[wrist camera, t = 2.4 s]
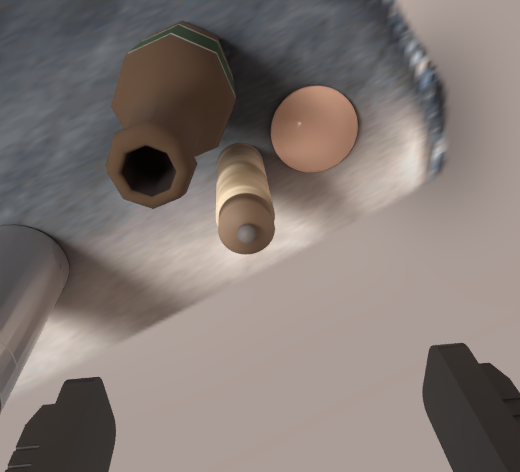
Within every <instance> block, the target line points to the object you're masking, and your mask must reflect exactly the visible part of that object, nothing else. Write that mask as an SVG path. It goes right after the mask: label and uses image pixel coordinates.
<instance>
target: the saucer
mask: <svg viewBox="0 0 520 472" xmlns="http://www.w3.org/2000/svg"><path fill="white" fill-rule="evenodd" d="M357 130H358V122H357V116H356V113H355V110H354V108H353V106H352V105H351V103H350V102H349V101H348V99H347V98H346V97H345V96H344V95H342V94H341V93H340V92H338V91H337V90H335V89H333V88H330V87H327V86H321V85H312V86H306V87H303V88H300V89H298V90H296V91H294V92H292V93H291V94H289V95H288V96H287V97H286V98H285V99H284V100H283V101H282V102H281V103H280V105H279V106H278V108H277V109H276V111H275V113H274V115H273V119H272V122H271V140H272V144H273V146H274V149H275V151H276V153H277V155H278V156H279V157H280V159H281V160H282V161H283V162H284V163H285V164H287V165H288V166H290V167H291V168H293V169H296V170H298V171H302V172H320V171H324V170H327V169H329V168H331V167H333V166H335V165H337V164H338V163H339V162H341V161H342V160H343V159H344V158H345V157H346V156H347V155H348V153H349V152H350V150H351V149H352V147H353V145H354V142H355V140H356V136H357Z"/></svg>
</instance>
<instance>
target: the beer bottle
mask: <svg viewBox="0 0 520 472" xmlns="http://www.w3.org/2000/svg"><path fill="white" fill-rule="evenodd" d="M235 100H236V96H235V88H234V80H233V73H232V71H231V68H230V66H229V64H228V61H227V59H226V56H225V54H224V51H223V49H222V47H221V44H220V42H219V39H218V37H217V36H216V35H214V34H211V33H209V32H207V31H205V30H202V29H200V28H198V27H196V26H193V25H191V24H189V23H187V22H184V21H181V22H179V23H177V24H175V25H172V26H170V27H168V28H166V29H164V30H162V31H159V32H157V33H155V34H153V35H151V36H149V37H147V38H145V39H144V40H143V41H142V42H141V43H139V44H138V45H137V46H136V47H135V48H133V49H132V50H131V51H130V52H129V53H127V55H126V56H125V58H124V60H123V64H122V67H121V71H120V75H119V78H118V82H117V86H116V89H115V93H114V97H113V101H112V104H111V107H112V109H113V111H114V113H115V114H116V116H117V118H118V120H119V121H120V123H121V125H122V127H123V128H124V129H123V130H121V131H119V132H116V133H114V137H113V140H112V144H111V147H110V151H109V155H108V158H107V162H106V170H107V173H108V175H109V176H110V178H111V180H112V181H113V183H114V185H115V186H116V188H117V189H118V191H119V193H120V194H121V196H122V198H123V199H125V200H128V201H131V202H134V203H137V204H140V205H143V206H146V207H149V208H152V209H154V208H156V207H159V206H161V205H164V204H166V203H169V202H171V201H174V200H176V199H178V198H181V197H182V196H183V195H184V194H186V192H187V190H188V187H189V184H190V182H191V179H192V176H193V174H194V171H195V168H196V166H197V162H196V160H195V158H194V157H195V156H198V155H200V154H202V153H205V152H207V151H210V150H212V149H214V148H217V147H218V146H219V143H220V141H221V138H222V136H223V133H224V130H225V128H226V125H227V123H228V120H229V118H230V115H231V113H232V110H233V108H234V105H235Z"/></svg>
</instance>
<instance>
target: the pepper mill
mask: <svg viewBox="0 0 520 472" xmlns="http://www.w3.org/2000/svg"><path fill="white" fill-rule="evenodd" d="M274 219H275V213H274V208H273V204H272V199H271V195H270V190H269V186H268V181H267V177H266V172H265V168H264V163H263V159H262V156H261V154H260V153H259V151H258V150H257V149H256V148H254V147H253V146H251V145H249V144H245V143H236V144H232V145H230V146H228V147H226V148H225V149H224V150H223V151H222V152H221V154H220V156H219V158H218V162H217V193H216V223H217V226H218V232H219V237H220V239H221V241H222V243H223V244H224V245H225V246H226V247H227V248H228V249H229V250H231V251H233V252H235V253H239V254H253V253H256V252H259V251H261V250H263V249H264V248H265V247H267V246H268V245H269V243H270V242H271V241H272V239H273V236H274V232H275V226H274Z"/></svg>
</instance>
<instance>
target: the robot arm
mask: <svg viewBox="0 0 520 472" xmlns="http://www.w3.org/2000/svg"><path fill="white" fill-rule="evenodd" d="M68 277H69V264H68V260H67V258H66V255H65V253H64V252H63V250H62V249H61V247H60V246H59V245H58V244H57V243H56V242H55V241H54V240H53V239H51V238H50V237H48V236H47V235H45V234H44V233H42V232H40V231H38V230H35V229H33V228H29V227H25V226H17V225H8V226H1V227H0V413H1V411H2V409H3V407H4V405H5V403H6V401H7V399H8V397H9V395H10V393H11V392H12V390H13V388H14V386H15V384H16V381H17V379H18V377H19V375H20V373H21V371H22V369H23V367H24V365H25V364H26V362H27V360H28V358H29V356H30V354H31V352H32V350H33V348H34V346H35V344H36V342H37V340H38V338H39V336H40V334H41V332H42V330H43V328H44V326H45V324H46V322H47V320H48V318H49V316H50V314H51V312H52V310H53V308H54V306H55V304H56V302H57V300H58V298H59V296H60V294H61V292H62V290H63V289H64V286H65V284H66V282H67V280H68ZM423 402H424V406H425V410H426V413H427V415H428V417H429V420H430V422H431V424H432V426H433V428H434V431H435V433H436V435H437V437H438V439H439V442H440V444H441V446H442V448H443V450H444V453H445V455H446V457H447V459H448V461H449V464H450V466H451V468H452V470H453V472H520V393H519V391H518V390H517V388H516V387H515V386H514V384H513V383H512V381H511V380H510V378H508V377H507V376H506V375H504V374H503V373H502V372H501V371H499V370H498V369H497V368H495V367H494V366H493V365H492V364H490V363H482V364H479V363H478V362H477V360H476V359H475V357H474V356H473V354H472V352H471V351H470V349H469V348H468V347H467V346H466V345H465V344H464V343H455V344H444V345H433V346H431V347H430V349H429V353H428V359H427V366H426V371H425V378H424V383H423ZM115 437H116V426H115V419H114V415H113V413H112V409H111V406H110V403H109V400H108V397H107V394H106V391H105V387H104V384H103V382H102V379H101V378H100V377H92V378H81V379H70V380H66V381H65V382H64V384H63V386H62V388H61V391H60V393H59V396H58V398H57V401H56V403H55V404H50V405H43V406H42V407H41V408H40V409H39V410H38V411H37V412H36V414H35V415H34V416H33V417H32V418H31V419H30V420H29V422H28V423H27V424H26V425H25V427H24V430H23V432H22V434H21V437H20V439H19V441H18V443H17V446H16V451H14V452H13V455H12V457H11V459H10V461H9V464H8V469H7V470H5V472H108V471H109V467H110V462H111V458H112V454H113V450H114V445H115Z"/></svg>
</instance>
